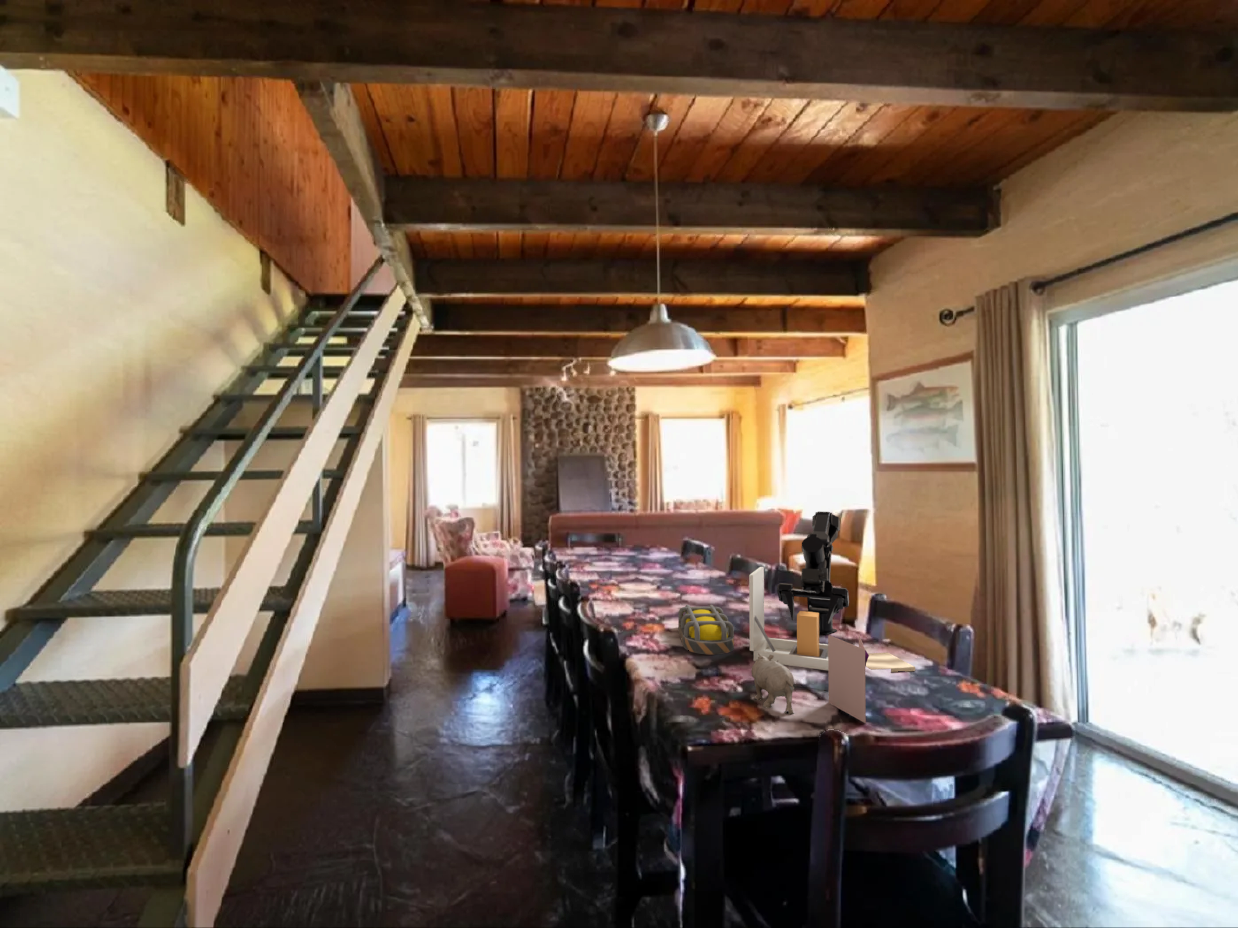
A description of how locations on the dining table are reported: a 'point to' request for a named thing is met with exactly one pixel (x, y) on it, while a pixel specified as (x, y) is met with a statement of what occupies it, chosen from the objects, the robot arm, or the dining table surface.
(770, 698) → the rhinoceros figurine
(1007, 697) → the dining table surface
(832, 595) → the robot arm
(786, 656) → the equipment case
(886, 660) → the wooden board
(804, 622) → the block
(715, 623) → the cage light
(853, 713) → the greeting card
